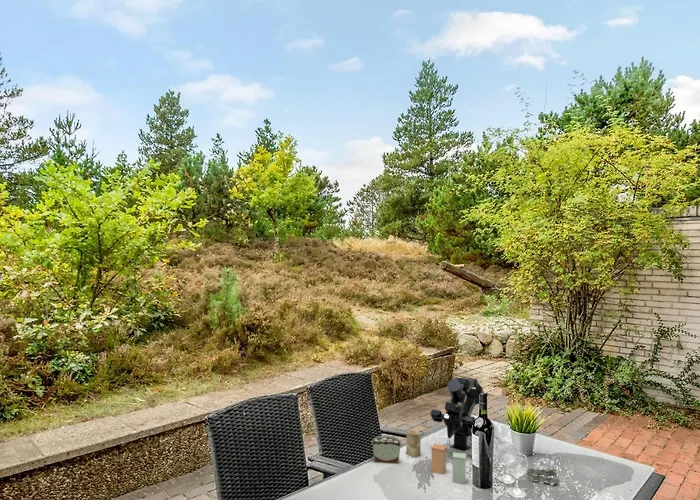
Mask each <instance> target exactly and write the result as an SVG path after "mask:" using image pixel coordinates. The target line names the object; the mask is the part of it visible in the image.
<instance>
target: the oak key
mask: <svg viewBox="0 0 700 500" xmlns="http://www.w3.org/2000/svg"><path fill="white" fill-rule="evenodd" d="M405 434H406V444H405V446H406V447H405V449H406V455H408V456H409V457H411V458H412V459H413V458H417V457H421V438H422V433H421V432H419V431H417V430H415V429H414V430H413V429H412V430H407V431H405Z"/></svg>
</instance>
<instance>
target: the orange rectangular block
mask: <svg viewBox="0 0 700 500" xmlns="http://www.w3.org/2000/svg"><path fill="white" fill-rule="evenodd" d="M430 448H431V473H432V472H433V473H437V474H441V475H443V474H444V473H445V472H446V471H447V449H448V448H447V446H446V445H442V444H439V443H438V444H437V443H434V444H433V445H432V446H431V447H430Z"/></svg>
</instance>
